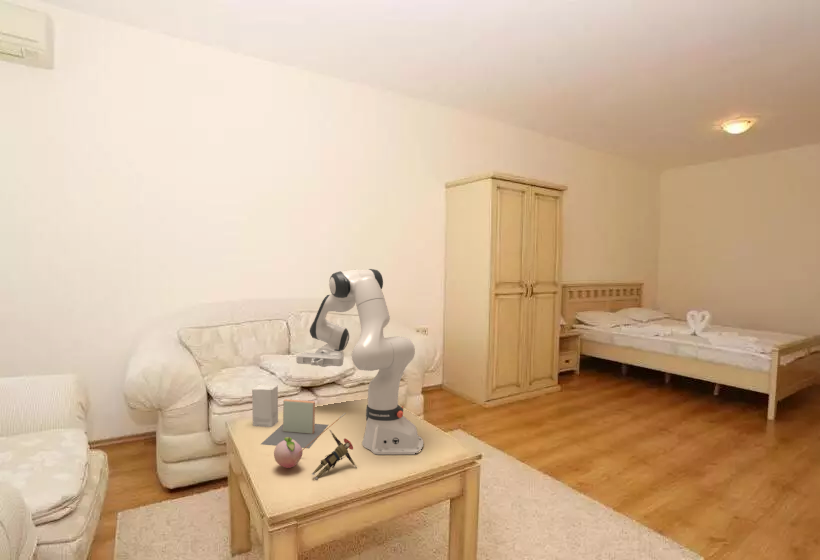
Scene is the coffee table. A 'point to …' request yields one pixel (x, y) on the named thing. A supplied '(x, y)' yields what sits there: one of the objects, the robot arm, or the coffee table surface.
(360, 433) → the coffee table surface
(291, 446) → the decorative fruit
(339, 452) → the samurai figurine
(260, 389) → the skincare box
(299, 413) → the tile
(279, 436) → the mat
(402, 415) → the robot arm
